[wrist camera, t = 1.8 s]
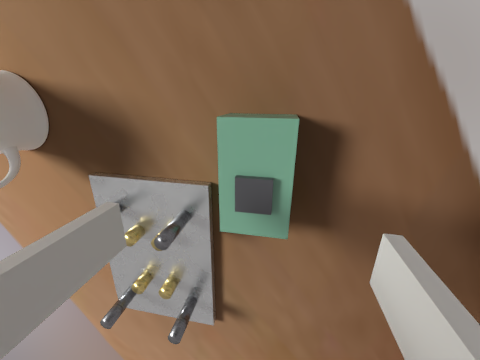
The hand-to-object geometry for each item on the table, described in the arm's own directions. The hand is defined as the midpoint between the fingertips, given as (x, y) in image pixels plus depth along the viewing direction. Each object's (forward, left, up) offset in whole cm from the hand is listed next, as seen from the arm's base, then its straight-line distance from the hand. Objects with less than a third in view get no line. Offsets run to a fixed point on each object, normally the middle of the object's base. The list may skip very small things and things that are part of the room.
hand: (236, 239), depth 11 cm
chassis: (+12, -12, -12) cm, 20 cm away
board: (0, 0, -12) cm, 12 cm away
